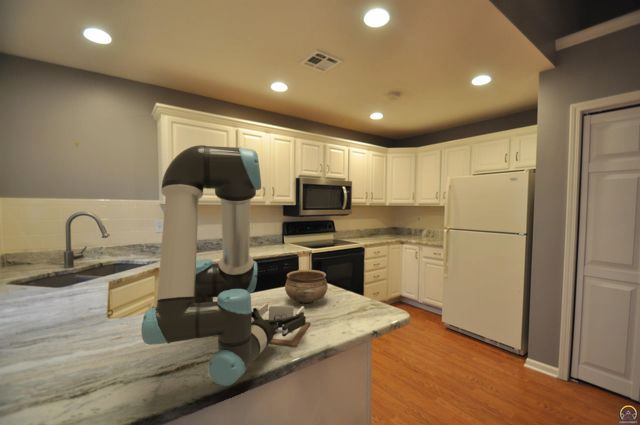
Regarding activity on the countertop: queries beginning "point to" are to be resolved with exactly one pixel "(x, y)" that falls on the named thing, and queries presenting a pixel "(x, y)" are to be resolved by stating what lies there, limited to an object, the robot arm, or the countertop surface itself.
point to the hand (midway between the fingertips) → (284, 308)
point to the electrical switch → (280, 312)
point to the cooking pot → (306, 286)
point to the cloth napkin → (290, 337)
